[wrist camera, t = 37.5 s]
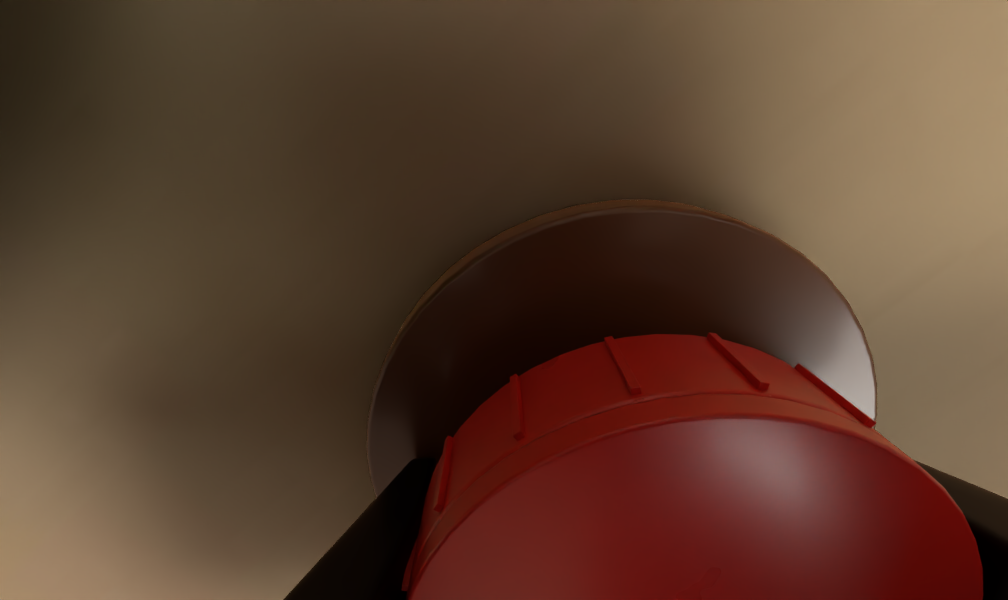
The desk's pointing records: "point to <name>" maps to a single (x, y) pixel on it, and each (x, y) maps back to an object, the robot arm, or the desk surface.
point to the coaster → (603, 313)
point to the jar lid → (683, 488)
